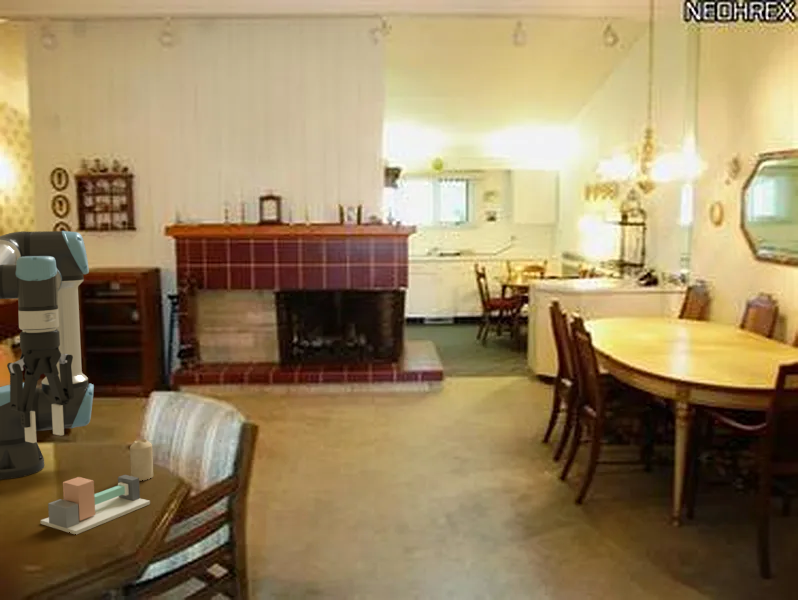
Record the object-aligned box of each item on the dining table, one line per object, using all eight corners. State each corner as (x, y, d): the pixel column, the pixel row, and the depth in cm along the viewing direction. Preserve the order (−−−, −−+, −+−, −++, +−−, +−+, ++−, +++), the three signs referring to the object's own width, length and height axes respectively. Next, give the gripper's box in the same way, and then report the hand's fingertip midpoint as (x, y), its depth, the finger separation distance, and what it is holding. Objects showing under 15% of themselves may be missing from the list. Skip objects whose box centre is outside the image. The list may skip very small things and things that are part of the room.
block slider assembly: (40, 523, 160) (39, 498, 159) (115, 495, 177) (115, 472, 177) (75, 534, 154) (74, 508, 153) (150, 504, 171) (149, 480, 171)
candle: (148, 481, 187) (147, 443, 186) (127, 481, 187) (126, 443, 187) (156, 474, 193) (155, 437, 192) (135, 474, 193) (134, 437, 192)
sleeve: (64, 516, 161) (62, 482, 160) (80, 510, 165) (78, 476, 164) (79, 520, 159) (78, 486, 158) (95, 514, 162) (93, 480, 161)
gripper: (7, 336, 141) (13, 452, 143) (89, 325, 157) (94, 429, 160) (-16, 334, 145) (-9, 446, 147) (67, 323, 161) (72, 425, 163)
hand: (44, 437), depth 153 cm, fingers open, 6 cm apart
